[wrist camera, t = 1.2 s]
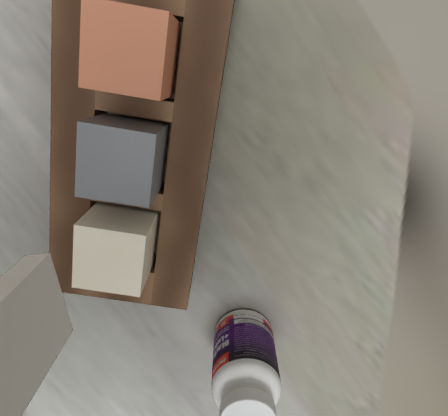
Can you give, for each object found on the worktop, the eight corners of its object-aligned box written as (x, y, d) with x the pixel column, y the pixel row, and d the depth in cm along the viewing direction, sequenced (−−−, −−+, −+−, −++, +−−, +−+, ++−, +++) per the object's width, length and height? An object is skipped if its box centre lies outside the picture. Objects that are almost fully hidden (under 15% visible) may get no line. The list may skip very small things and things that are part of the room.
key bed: (66, 268, 33) (49, 290, 30) (75, -45, 25) (52, -63, 22) (190, 286, 34) (186, 309, 30) (236, -15, 26) (238, -28, 23)
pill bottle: (217, 304, 34) (213, 388, 25) (275, 310, 35) (293, 395, 25) (211, 352, 36) (205, 447, 27) (267, 358, 36) (280, 453, 27)
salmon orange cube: (105, 84, 26) (78, 87, 21) (109, 10, 24) (81, -5, 20) (172, 96, 26) (160, 100, 21) (180, 23, 24) (169, 11, 20)
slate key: (100, 175, 28) (74, 196, 23) (103, 113, 26) (76, 121, 22) (162, 185, 28) (148, 208, 23) (169, 123, 27) (156, 134, 22)
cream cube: (96, 254, 30) (71, 287, 25) (99, 200, 29) (73, 224, 24) (153, 262, 30) (139, 297, 26) (159, 209, 29) (146, 235, 24)
